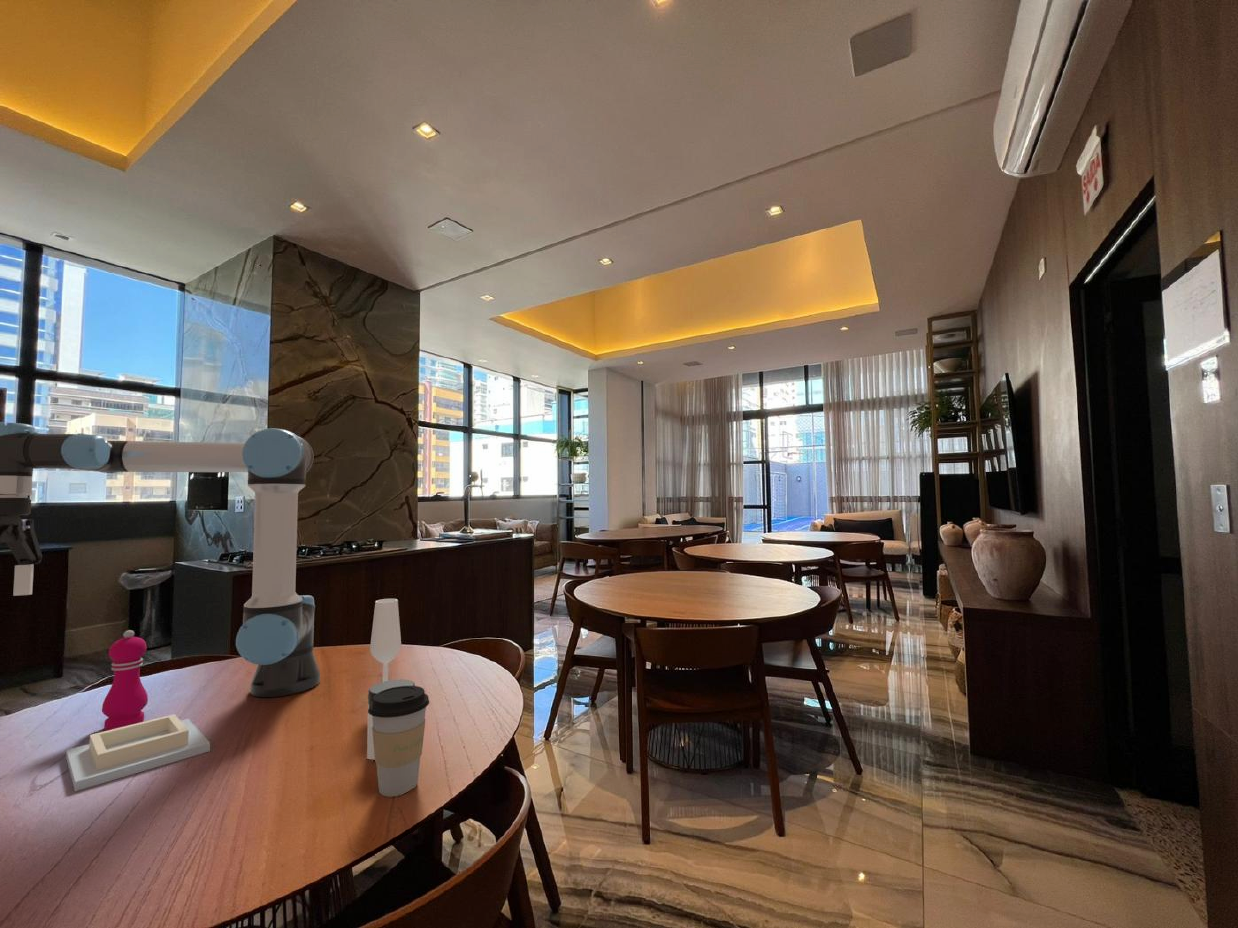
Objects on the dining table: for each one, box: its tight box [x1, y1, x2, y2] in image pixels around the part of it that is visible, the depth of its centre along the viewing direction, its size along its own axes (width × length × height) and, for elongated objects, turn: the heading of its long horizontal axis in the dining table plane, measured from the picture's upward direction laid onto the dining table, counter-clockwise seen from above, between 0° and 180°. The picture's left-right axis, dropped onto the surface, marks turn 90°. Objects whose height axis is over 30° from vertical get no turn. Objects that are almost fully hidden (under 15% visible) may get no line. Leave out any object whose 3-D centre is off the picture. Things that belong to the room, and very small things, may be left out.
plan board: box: [65, 714, 211, 792], centre depth 100 cm, size 18×18×4 cm
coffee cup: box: [367, 685, 430, 798], centre depth 88 cm, size 9×9×15 cm
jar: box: [366, 678, 416, 759], centre depth 100 cm, size 9×8×12 cm
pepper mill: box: [101, 629, 149, 731], centre depth 114 cm, size 7×7×20 cm
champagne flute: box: [369, 598, 402, 682], centre depth 123 cm, size 7×7×24 cm
